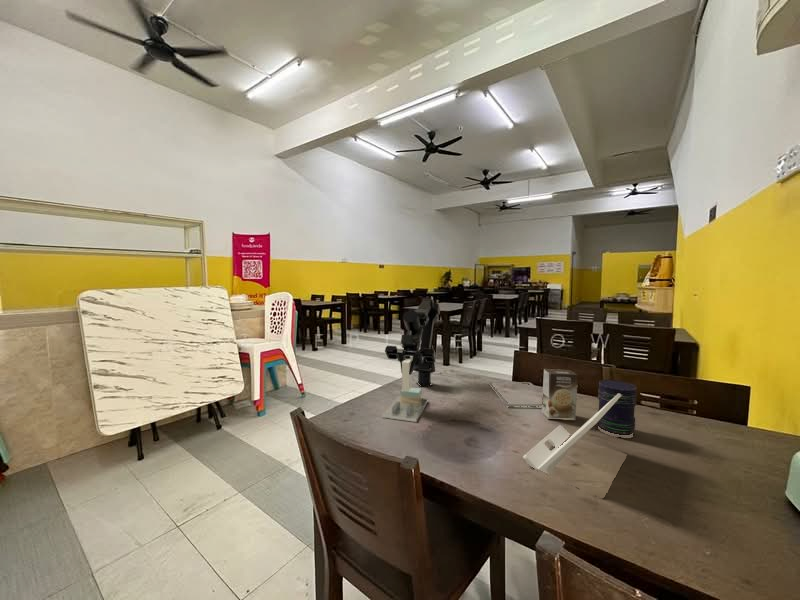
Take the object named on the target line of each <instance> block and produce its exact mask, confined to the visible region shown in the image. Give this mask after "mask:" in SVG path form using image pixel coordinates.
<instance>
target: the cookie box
mask: <svg viewBox="0 0 800 600" xmlns="http://www.w3.org/2000/svg"><path fill="white" fill-rule="evenodd" d="M578 376H579V375H578V374H577V373H576V372H574V371H572V370H571V369H556V368H543V379H542V380H543V381H542V383H543V384H542V392H543V398H542V409H541V413H542V412H543V413H544V414H545V415H546V416H547V417H548V418H574V419H575V420H576V417H577V416H576V413H577V412H576V411H577V397H578V396H577V394H578ZM543 413H542V414H543Z"/></svg>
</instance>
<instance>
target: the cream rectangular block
mask: <svg viewBox="0 0 800 600" xmlns="http://www.w3.org/2000/svg"><path fill="white" fill-rule="evenodd" d="M412 360H413V359H410V358H409V359H408V358H407V359H406V358H405V360H404V361H403V362H402V373H401V390H402V391H408V392H409V390H410V389H411V388H413V385H412V384H413V373H412V374H411V375H409V371H410V367H411V363H412Z"/></svg>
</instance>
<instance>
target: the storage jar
mask: <svg viewBox="0 0 800 600" xmlns="http://www.w3.org/2000/svg"><path fill="white" fill-rule="evenodd" d="M597 390H598V392H597V393H598V395H597V399H598V410H597V412H598V411H599V410H601V409H602V408H603V407H604V406H605V405H606V404H607V403H608V402H609V401H610V400H612V399H613V398H614V397H615V396H616V395H617V394H618V393H620V394H621V395H622V396H621V397H620V398H619V399H618V400H617V401H616V402H615V403H614V404H613V406H612V407H611V408H610V409H609V410H608V411H607V412H606V413H605V414H604V415H603V417H602V418H601V419H600V420H599V421H598V422H597V423H596V424H597V425H598V426H599V427H600V428H601V429H603V430H605V431H608V432H610V433H614V434H619V435H630V434H632V433H633V432H635V429H636V417H635V407H636V405H637V398H638V396H637V386H636V385H634V384H632V383H629V382H626V381H621V380H616V379H615V380H613V379H601V380H599V382H598V389H597Z"/></svg>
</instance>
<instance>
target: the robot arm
mask: <svg viewBox="0 0 800 600" xmlns="http://www.w3.org/2000/svg"><path fill="white" fill-rule="evenodd" d="M440 314H441V307H440V305H439V303H437V302H435V301H434V299H432V298H423V299H422V300H421V303H420V304H419V306H418V307H417V309H415V308H409V310H407V311H406V312H405V313H404V314H403V316H402V319H403V323H404V325H405V328H406V330H407V333H406V334H401V338H400V344H401V348H398V347H397V345H387V346H386V347H385V349H384V352H385V354H386V356H387V358H388V359H389V360H397V361H398V362H399V364H400V372H401V374H402V362H403V361H404V360H405V359H406V357H412V359H411V360H412V363H411V367H410V371H409V375H411V374H412V375H413V373H414V372H417V381H418V383H419V384H420V385H421V386H423V387H429V386H428V385H430V384H431V383H432V381H431V380H432V376H431V375H432V374H433V373H435V372H436V365H435V363H436V360H437V355H436V351H435V349H434V348H431V347H432V341H433V332H434V325H435V323H436V322H437V321H438V319H439V315H440ZM420 385H419V386H420ZM419 386H418V387H419Z"/></svg>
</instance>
